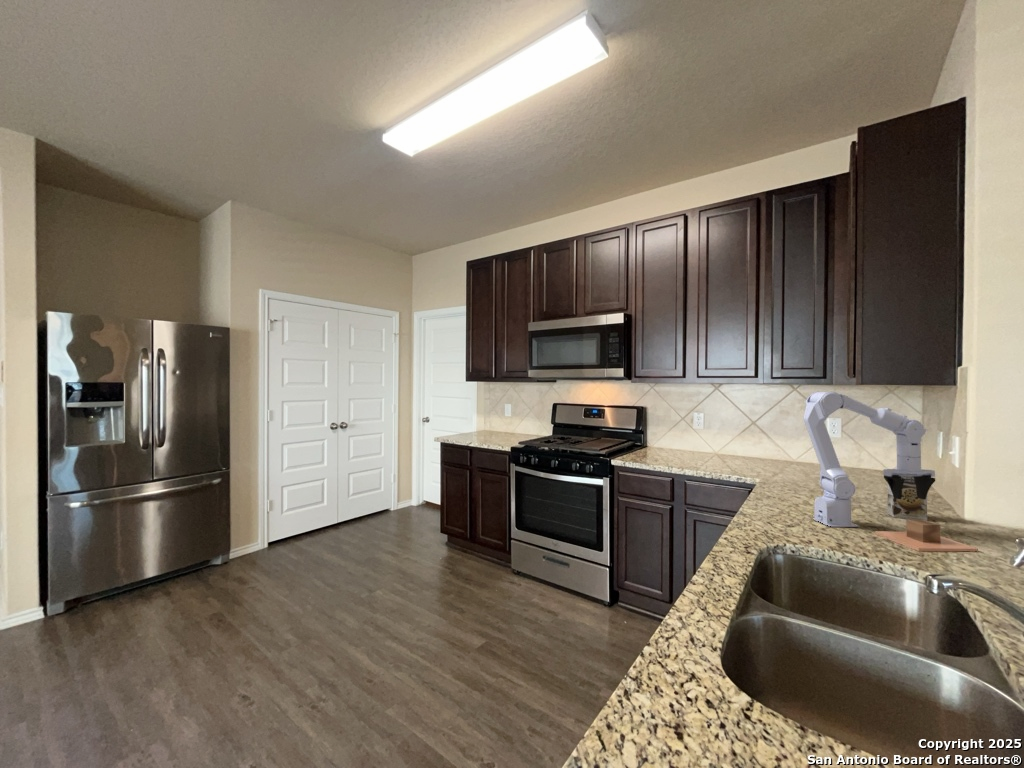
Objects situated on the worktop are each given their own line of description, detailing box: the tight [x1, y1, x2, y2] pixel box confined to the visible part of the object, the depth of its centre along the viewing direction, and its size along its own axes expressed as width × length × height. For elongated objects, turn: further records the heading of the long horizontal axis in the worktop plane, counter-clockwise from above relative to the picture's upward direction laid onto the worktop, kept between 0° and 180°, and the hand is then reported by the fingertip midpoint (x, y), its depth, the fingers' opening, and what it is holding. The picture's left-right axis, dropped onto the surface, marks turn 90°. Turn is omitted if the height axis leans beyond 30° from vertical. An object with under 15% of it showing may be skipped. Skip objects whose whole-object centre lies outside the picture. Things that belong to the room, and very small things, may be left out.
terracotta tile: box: [874, 530, 979, 553], centre depth 121 cm, size 16×14×1 cm
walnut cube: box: [905, 519, 942, 543], centre depth 121 cm, size 5×5×5 cm
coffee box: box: [886, 476, 928, 521], centre depth 146 cm, size 9×6×16 cm
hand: (909, 498), depth 134 cm, fingers open, 7 cm apart
